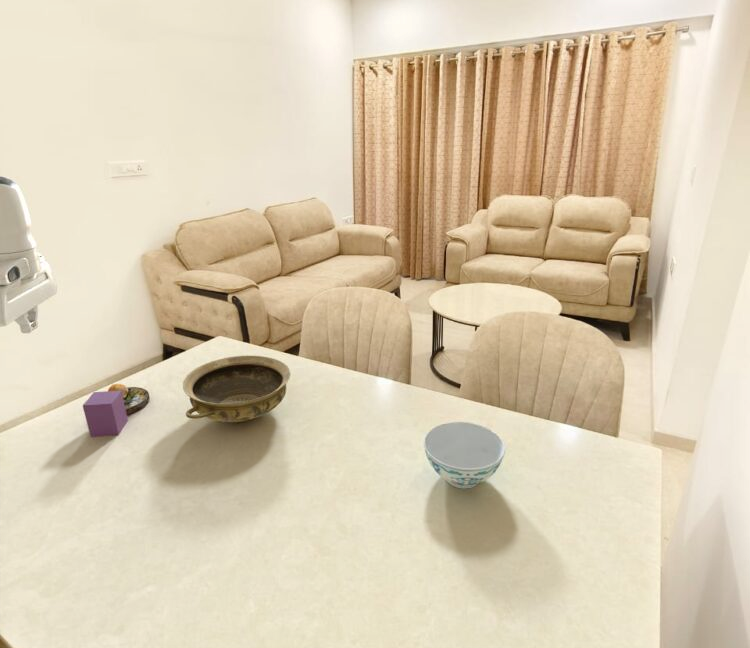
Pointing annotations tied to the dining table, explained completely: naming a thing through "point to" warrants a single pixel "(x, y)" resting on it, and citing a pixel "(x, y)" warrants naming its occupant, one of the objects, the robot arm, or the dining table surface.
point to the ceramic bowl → (236, 388)
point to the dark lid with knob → (132, 397)
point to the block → (105, 413)
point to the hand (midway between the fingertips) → (30, 330)
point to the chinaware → (463, 452)
